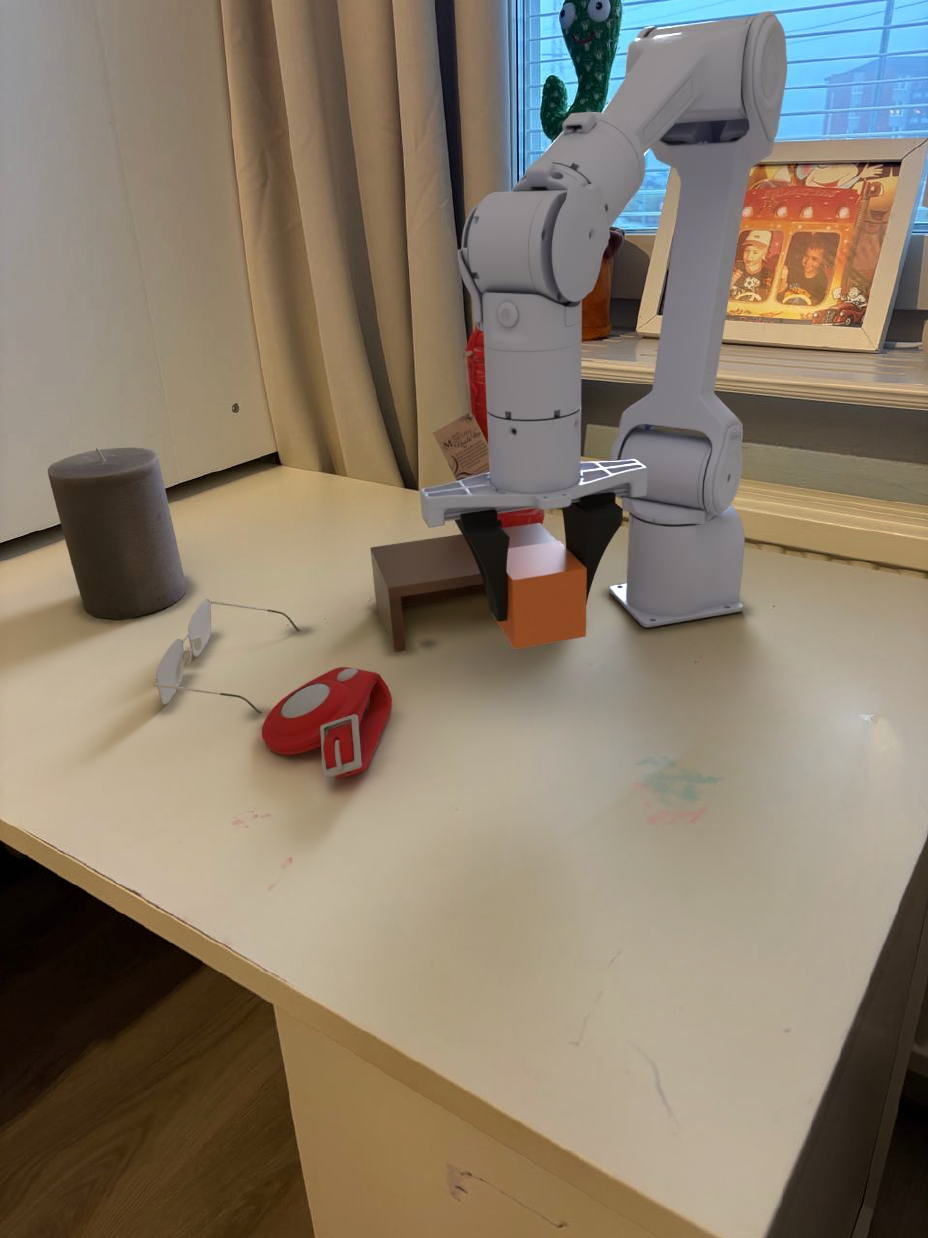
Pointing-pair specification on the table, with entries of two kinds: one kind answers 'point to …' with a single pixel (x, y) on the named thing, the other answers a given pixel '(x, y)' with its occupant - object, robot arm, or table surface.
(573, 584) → the plain orange wooden cube
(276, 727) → the tracker holder
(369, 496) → the table surface
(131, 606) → the pillar candle
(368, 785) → the table surface
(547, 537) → the shelf
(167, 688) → the eyeglasses
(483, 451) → the water bottle
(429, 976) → the table surface
